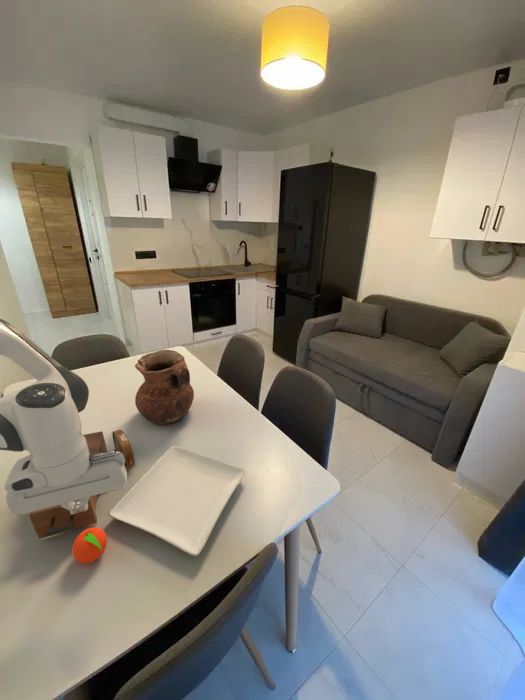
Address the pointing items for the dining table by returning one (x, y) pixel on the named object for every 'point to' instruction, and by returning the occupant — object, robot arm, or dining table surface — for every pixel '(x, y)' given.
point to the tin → (123, 447)
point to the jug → (164, 387)
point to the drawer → (62, 519)
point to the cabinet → (95, 443)
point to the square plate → (180, 498)
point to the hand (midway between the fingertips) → (80, 510)
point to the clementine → (89, 545)
